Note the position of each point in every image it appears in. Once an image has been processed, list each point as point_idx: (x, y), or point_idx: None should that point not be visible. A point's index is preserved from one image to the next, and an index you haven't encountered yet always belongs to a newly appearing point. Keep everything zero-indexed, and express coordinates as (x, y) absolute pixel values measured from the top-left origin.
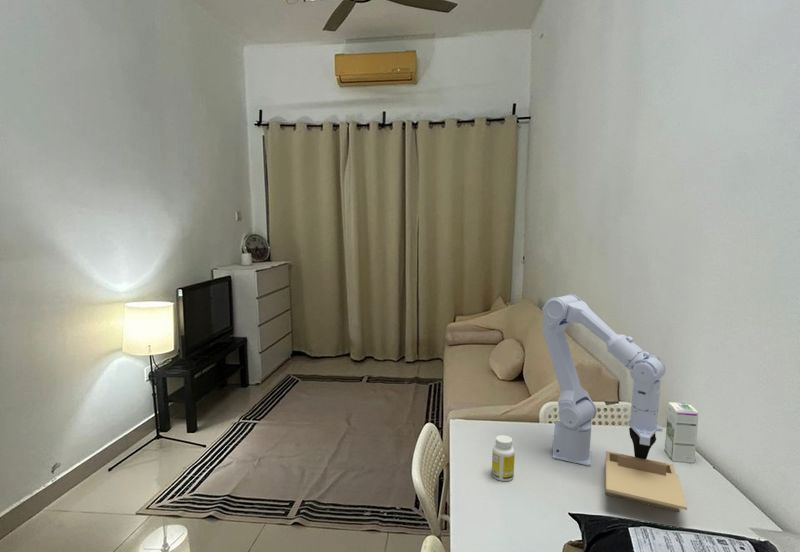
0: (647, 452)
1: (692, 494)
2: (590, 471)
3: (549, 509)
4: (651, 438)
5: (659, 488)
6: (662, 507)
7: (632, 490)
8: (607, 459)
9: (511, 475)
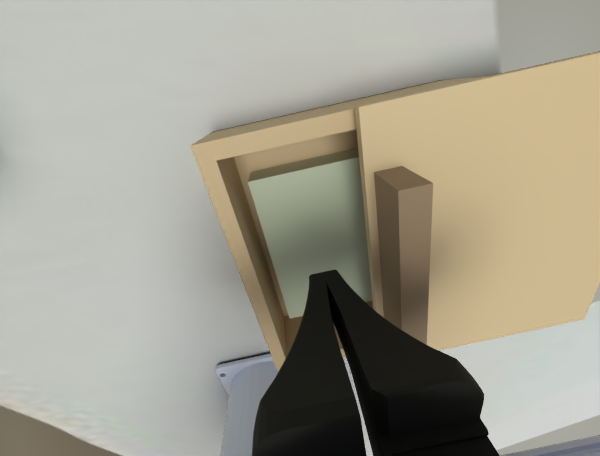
0: (365, 304)
1: (264, 32)
2: None
3: (537, 346)
4: (453, 407)
5: (542, 175)
6: None
7: (581, 258)
8: (342, 354)
9: None
